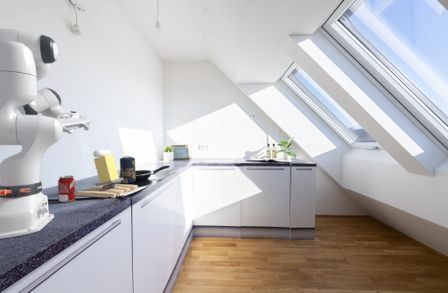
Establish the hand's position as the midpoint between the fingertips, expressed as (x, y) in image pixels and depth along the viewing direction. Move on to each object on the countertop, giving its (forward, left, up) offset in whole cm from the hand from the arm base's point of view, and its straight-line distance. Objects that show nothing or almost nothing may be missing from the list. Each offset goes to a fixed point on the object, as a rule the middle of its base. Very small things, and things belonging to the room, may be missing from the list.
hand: (79, 130), depth 125 cm
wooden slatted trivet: (0, -13, -34) cm, 37 cm away
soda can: (-11, +6, -34) cm, 37 cm away
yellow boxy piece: (0, -13, -30) cm, 32 cm away
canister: (+22, -26, -34) cm, 48 cm away
